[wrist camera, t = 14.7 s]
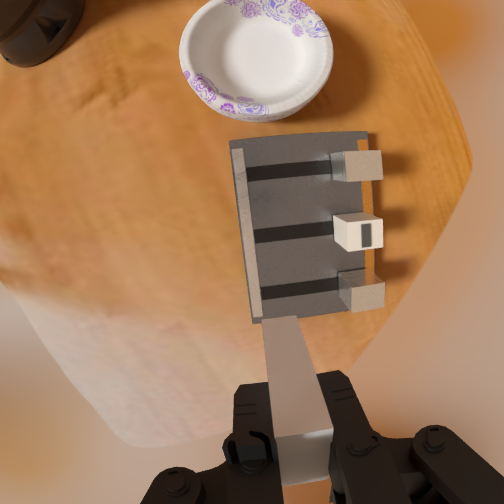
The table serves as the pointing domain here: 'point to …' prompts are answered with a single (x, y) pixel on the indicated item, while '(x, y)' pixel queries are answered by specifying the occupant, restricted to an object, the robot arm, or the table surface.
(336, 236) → the breaker
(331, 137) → the panel
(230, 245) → the table surface
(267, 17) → the paper bowls
